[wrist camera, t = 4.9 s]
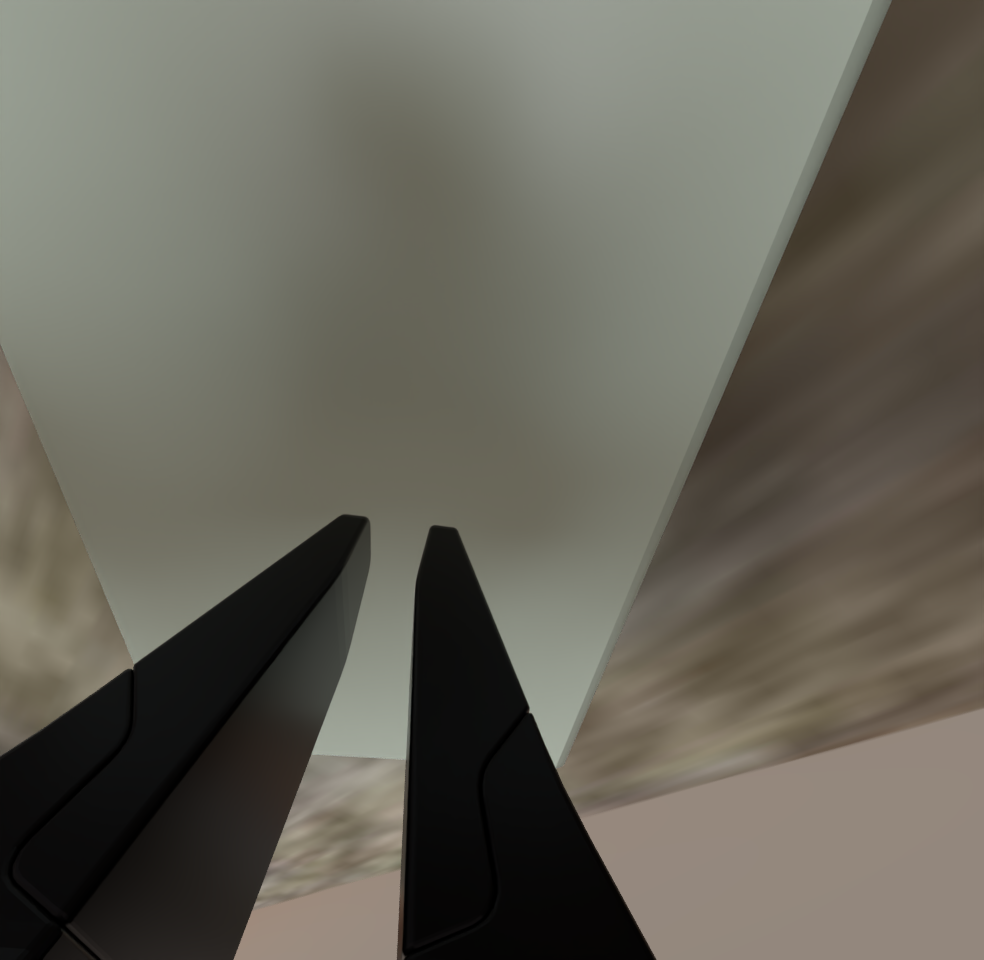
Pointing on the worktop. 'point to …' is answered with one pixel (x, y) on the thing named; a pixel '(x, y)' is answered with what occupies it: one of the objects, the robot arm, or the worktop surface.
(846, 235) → the worktop surface
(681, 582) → the worktop surface
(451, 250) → the duct cover
